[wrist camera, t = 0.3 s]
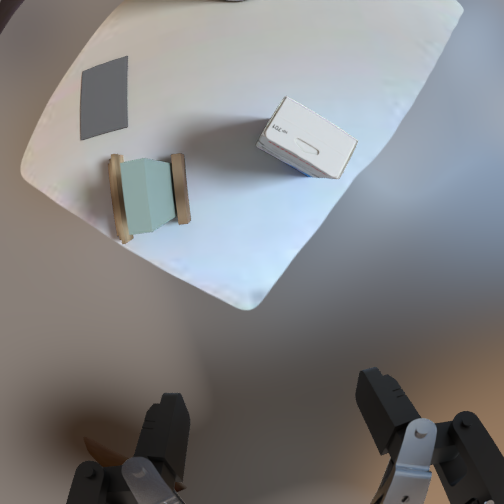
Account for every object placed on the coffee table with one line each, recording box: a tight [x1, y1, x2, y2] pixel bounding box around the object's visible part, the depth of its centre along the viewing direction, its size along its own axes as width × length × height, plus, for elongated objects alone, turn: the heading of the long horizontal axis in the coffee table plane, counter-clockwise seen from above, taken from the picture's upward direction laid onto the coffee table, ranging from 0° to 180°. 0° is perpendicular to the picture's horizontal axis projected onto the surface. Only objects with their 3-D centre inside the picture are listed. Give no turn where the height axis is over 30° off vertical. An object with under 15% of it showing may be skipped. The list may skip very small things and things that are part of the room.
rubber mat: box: [81, 56, 128, 140], centre depth 30 cm, size 12×8×1 cm, turn 5°
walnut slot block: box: [171, 153, 191, 225], centre depth 34 cm, size 9×6×2 cm, turn 5°
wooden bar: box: [108, 154, 133, 244], centre depth 33 cm, size 12×2×4 cm, turn 5°
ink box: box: [256, 96, 358, 179], centre depth 29 cm, size 9×5×12 cm, turn 61°
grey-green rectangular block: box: [120, 158, 178, 235], centre depth 29 cm, size 7×2×12 cm, turn 5°
